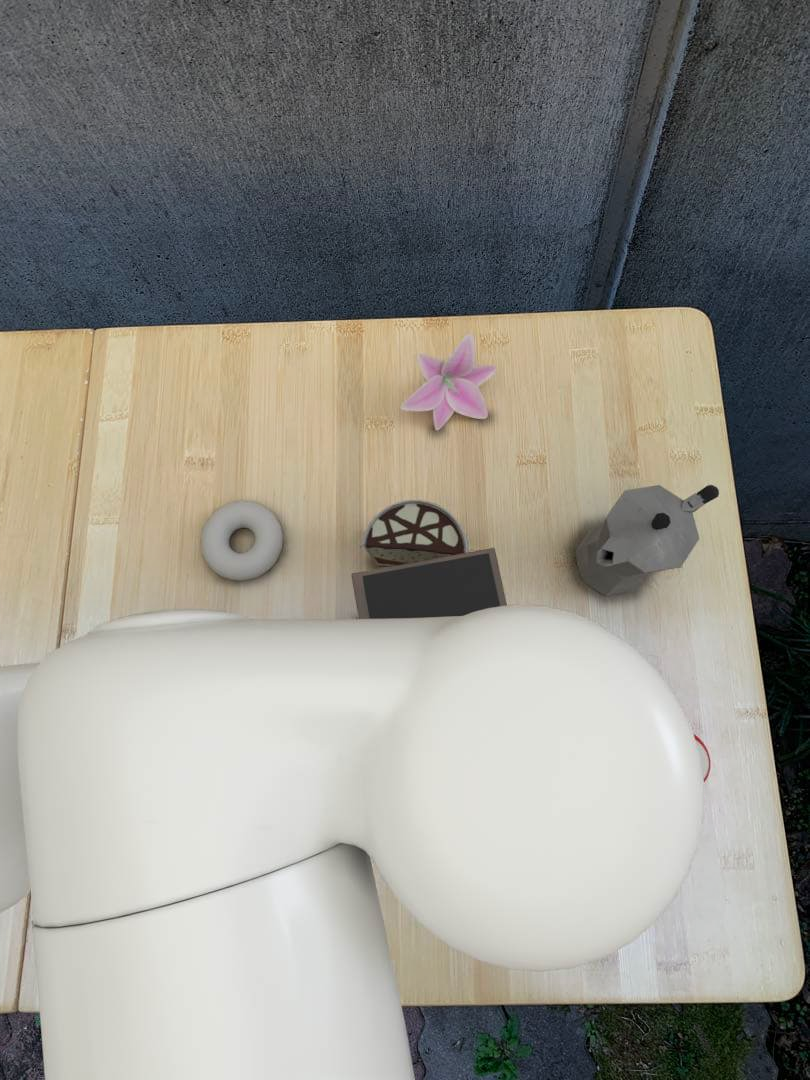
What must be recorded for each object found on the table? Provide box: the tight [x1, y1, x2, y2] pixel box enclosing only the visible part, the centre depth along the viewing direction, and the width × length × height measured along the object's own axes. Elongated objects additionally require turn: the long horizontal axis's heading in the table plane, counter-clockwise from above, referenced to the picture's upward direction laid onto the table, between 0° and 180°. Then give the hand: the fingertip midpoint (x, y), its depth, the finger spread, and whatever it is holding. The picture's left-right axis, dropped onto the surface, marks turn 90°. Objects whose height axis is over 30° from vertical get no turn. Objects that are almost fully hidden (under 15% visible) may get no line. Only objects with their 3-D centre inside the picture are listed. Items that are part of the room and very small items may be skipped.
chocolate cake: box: [359, 499, 471, 567], centre depth 79 cm, size 12×6×10 cm, turn 84°
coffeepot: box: [574, 484, 720, 598], centre depth 75 cm, size 15×9×18 cm, turn 121°
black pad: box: [363, 553, 500, 619], centre depth 53 cm, size 10×8×3 cm
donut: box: [200, 500, 284, 581], centre depth 83 cm, size 10×4×10 cm
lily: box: [399, 332, 499, 431], centre depth 85 cm, size 12×12×10 cm
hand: (456, 734), depth 42 cm, fingers closed on charcoal pad, 6 cm apart
